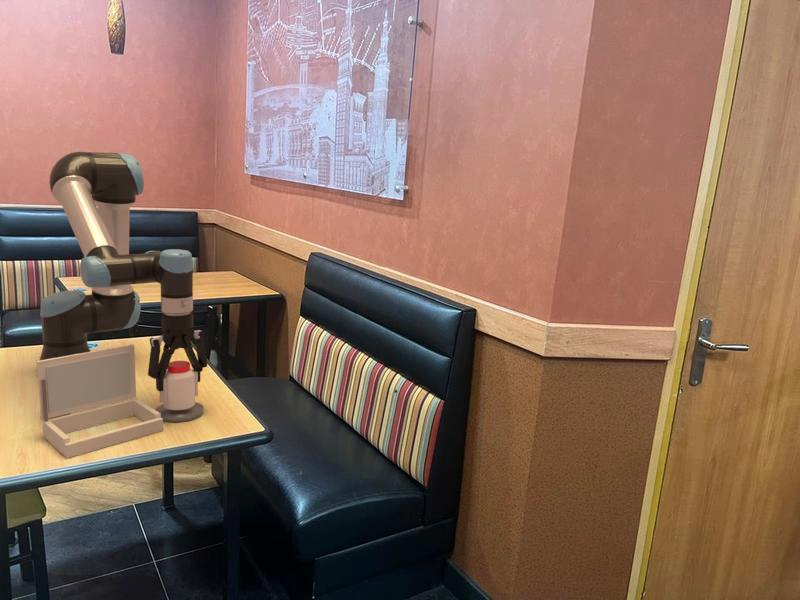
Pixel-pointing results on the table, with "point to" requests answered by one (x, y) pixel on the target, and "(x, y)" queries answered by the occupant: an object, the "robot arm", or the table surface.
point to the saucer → (181, 413)
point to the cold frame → (92, 399)
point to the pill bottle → (180, 386)
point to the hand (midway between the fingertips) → (179, 398)
